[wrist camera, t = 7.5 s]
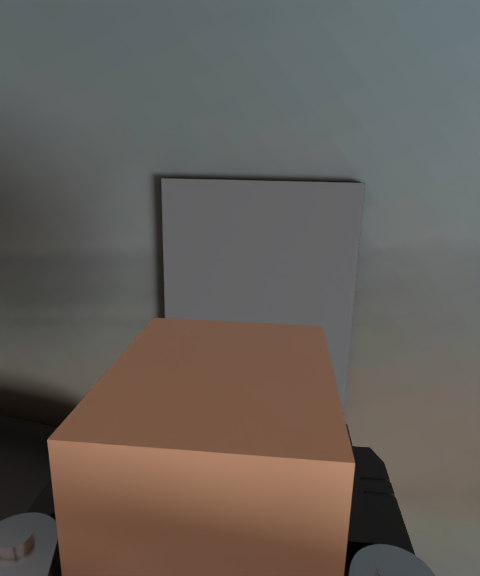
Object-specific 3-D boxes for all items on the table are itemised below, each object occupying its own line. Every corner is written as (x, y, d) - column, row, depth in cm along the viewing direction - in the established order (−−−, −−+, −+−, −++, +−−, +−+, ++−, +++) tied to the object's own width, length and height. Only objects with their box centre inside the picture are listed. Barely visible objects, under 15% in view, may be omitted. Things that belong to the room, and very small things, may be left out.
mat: (164, 177, 21) (161, 178, 20) (363, 182, 20) (365, 182, 19) (169, 410, 24) (167, 415, 23) (341, 421, 23) (342, 427, 22)
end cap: (134, 411, 24) (79, 502, 18) (120, 516, 26) (66, 632, 20) (-41, 372, 25) (-158, 447, 18) (-43, 478, 26) (-149, 580, 20)
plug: (153, 317, 11) (46, 440, 6) (322, 325, 10) (354, 463, 6) (163, 600, 13) (92, 855, 8) (302, 615, 13) (312, 890, 8)
